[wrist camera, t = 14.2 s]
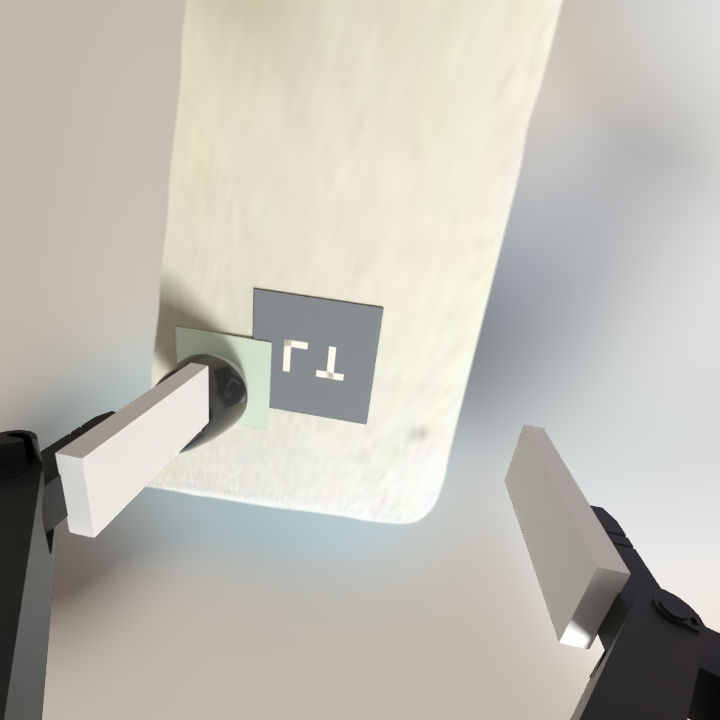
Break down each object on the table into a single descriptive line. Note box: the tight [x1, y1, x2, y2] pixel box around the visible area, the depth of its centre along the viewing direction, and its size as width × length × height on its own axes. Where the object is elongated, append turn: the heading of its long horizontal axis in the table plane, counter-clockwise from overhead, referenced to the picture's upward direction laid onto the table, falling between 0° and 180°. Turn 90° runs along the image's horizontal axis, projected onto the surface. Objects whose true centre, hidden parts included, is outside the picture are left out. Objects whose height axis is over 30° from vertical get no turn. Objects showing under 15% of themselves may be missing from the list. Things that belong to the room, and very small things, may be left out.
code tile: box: [253, 289, 383, 424], centre depth 49 cm, size 16×16×1 cm
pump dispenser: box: [156, 354, 248, 454], centre depth 45 cm, size 10×10×15 cm
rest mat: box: [175, 326, 272, 430], centre depth 52 cm, size 13×13×1 cm
